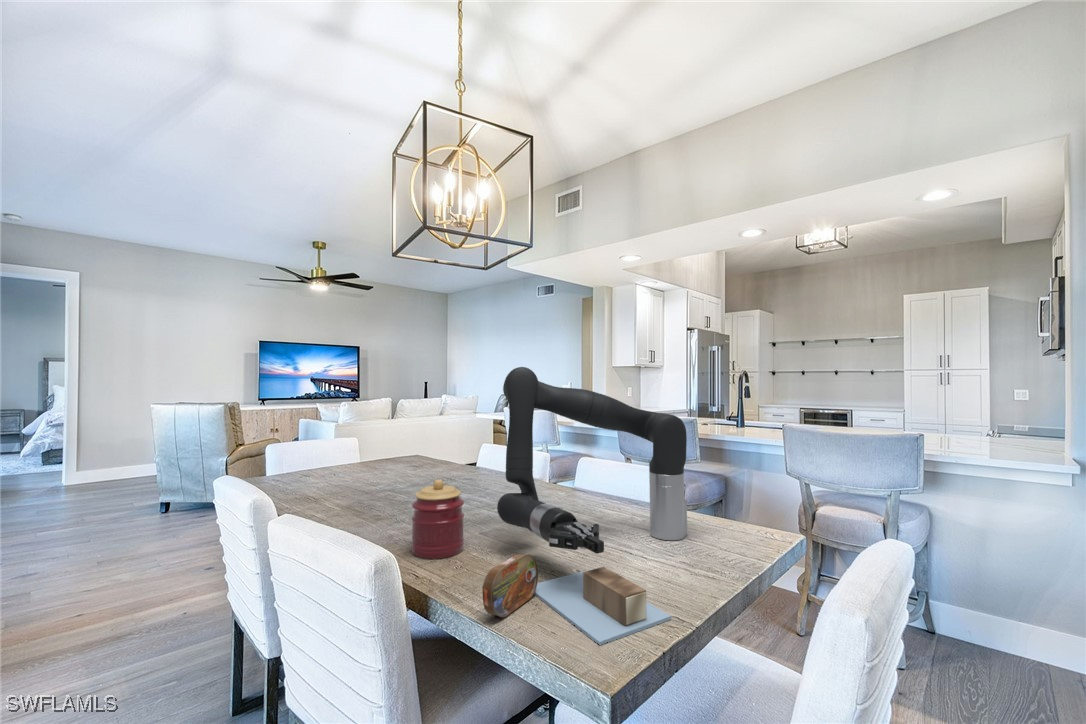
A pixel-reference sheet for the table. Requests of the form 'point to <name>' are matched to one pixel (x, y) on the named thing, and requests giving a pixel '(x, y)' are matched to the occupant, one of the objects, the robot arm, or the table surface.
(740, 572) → the table surface
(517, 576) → the tin
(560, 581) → the mat
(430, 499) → the canister
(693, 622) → the table surface
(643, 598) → the walnut block
